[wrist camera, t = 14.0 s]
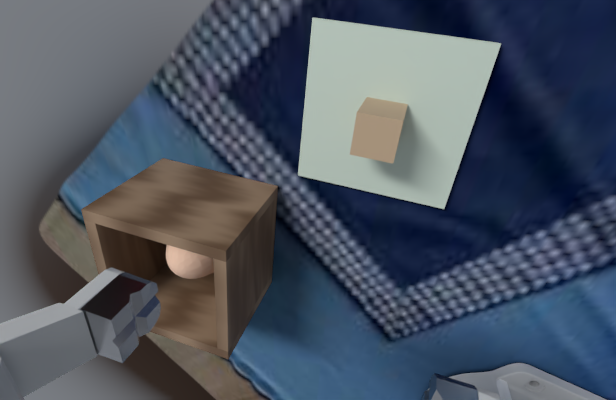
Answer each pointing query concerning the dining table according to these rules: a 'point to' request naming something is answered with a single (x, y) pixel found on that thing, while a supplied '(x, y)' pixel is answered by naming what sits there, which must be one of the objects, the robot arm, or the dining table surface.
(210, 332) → the box
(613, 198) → the dining table surface
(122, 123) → the dining table surface
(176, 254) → the egg
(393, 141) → the lid
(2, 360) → the robot arm
